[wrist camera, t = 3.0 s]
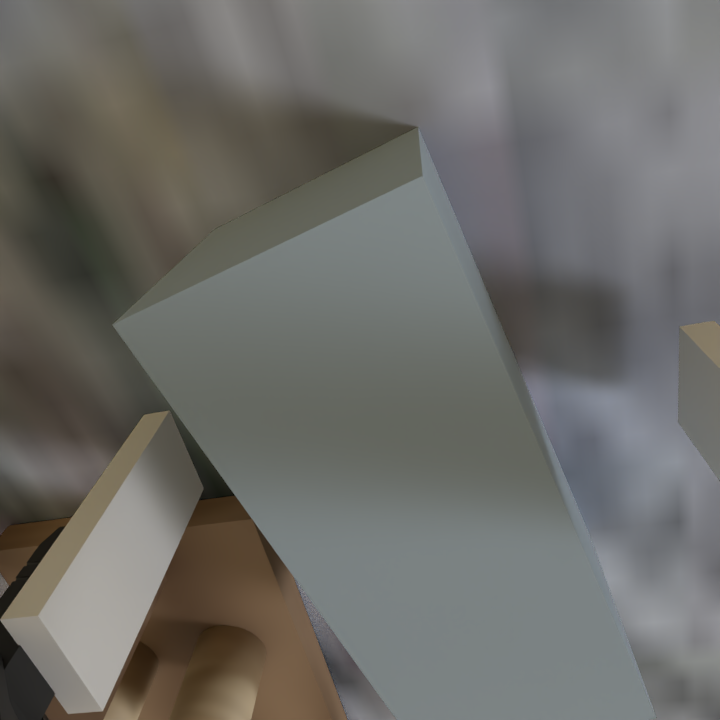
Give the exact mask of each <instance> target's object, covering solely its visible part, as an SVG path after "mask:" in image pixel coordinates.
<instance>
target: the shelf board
mask: <svg viewBox="0 0 720 720" xmlns="http://www.w3.org/2000/svg"><path fill="white" fill-rule="evenodd" d="M112 325H113V327H114V328H115V329H116V331H117V332H118V334H119V335H120V336H121V338H122V339H123V341H124V342H125V343H126V345H127V346H128V348H129V349H130V350H131V352H132V353H133V354H134V356H135V357H136V359H137V360H138V361H139V363H140V364H141V366H142V367H143V368H144V370H145V371H146V373H147V374H148V375H149V377H150V378H151V379H152V381H153V382H154V384H155V385H156V386H157V388H158V389H159V391H160V392H161V393H162V395H163V396H164V398H165V399H166V400H167V402H168V403H169V404H170V406H171V407H172V409H173V410H174V411H175V413H176V414H177V416H178V417H179V418H180V420H181V421H182V423H183V424H184V425H185V427H186V428H187V429H188V431H189V432H190V434H191V435H192V436H193V438H194V439H195V441H196V442H197V443H198V445H199V446H200V448H201V449H202V450H203V452H204V453H205V454H206V456H207V457H208V459H209V460H210V461H211V463H212V464H213V466H214V467H215V468H216V470H217V471H218V473H219V474H220V475H221V477H222V478H223V479H224V481H225V482H226V484H227V485H228V486H229V488H230V489H231V491H232V492H233V493H234V495H235V496H236V497H237V499H238V500H239V502H240V503H241V504H242V506H243V507H244V509H245V510H246V511H247V513H248V514H249V516H250V517H251V518H252V520H253V521H254V522H255V524H256V525H257V527H258V528H259V529H260V531H261V532H262V534H263V535H264V536H265V538H266V539H267V541H268V542H269V543H270V545H271V546H272V547H273V549H274V550H275V552H276V553H277V554H278V556H279V557H280V559H281V560H282V561H283V563H284V564H285V566H286V567H287V568H288V570H289V571H290V572H291V574H292V575H293V577H294V578H295V579H296V581H297V582H298V584H299V585H300V586H301V588H302V589H303V591H304V592H305V593H306V595H307V596H308V597H309V599H310V600H311V602H312V603H313V604H314V606H315V607H316V609H317V610H318V611H319V613H320V614H321V616H322V617H323V618H324V620H325V621H326V622H327V624H328V625H329V627H330V628H331V629H332V631H333V632H334V634H335V635H336V636H337V638H338V639H339V640H340V642H341V643H342V645H343V646H344V647H345V649H346V650H347V652H348V653H349V654H350V656H351V657H352V659H353V660H354V661H355V663H356V664H357V665H358V667H359V668H360V670H361V671H362V672H363V674H364V675H365V677H366V678H367V679H368V681H369V682H370V684H371V685H372V686H373V688H374V689H375V690H376V692H377V693H378V695H379V696H380V697H381V699H382V700H383V702H384V703H385V704H386V706H387V707H388V709H389V710H390V711H391V713H392V714H393V715H394V717H395V718H396V720H651V719H656V715H655V712H654V710H653V707H652V704H651V701H650V699H649V696H648V693H647V690H646V688H645V685H644V682H643V680H642V677H641V674H640V671H639V669H638V666H637V663H636V660H635V658H634V655H633V652H632V650H631V647H630V644H629V641H628V639H627V636H626V633H625V631H624V628H623V625H622V622H621V620H620V617H619V614H618V611H617V609H616V606H615V603H614V601H613V598H612V595H611V592H610V590H609V587H608V584H607V581H606V579H605V576H604V573H603V571H602V568H601V565H600V562H599V560H598V557H597V554H596V551H595V549H594V546H593V543H592V541H591V538H590V535H589V532H588V530H587V528H586V525H585V523H584V520H583V518H582V516H581V513H580V511H579V508H578V506H577V504H576V501H575V499H574V497H573V494H572V492H571V489H570V487H569V485H568V482H567V480H566V478H565V475H564V473H563V470H562V468H561V466H560V463H559V461H558V459H557V456H556V454H555V451H554V449H553V447H552V444H551V442H550V440H549V437H548V435H547V432H546V430H545V428H544V425H543V423H542V420H541V418H540V416H539V413H538V411H537V409H536V406H535V404H534V401H533V399H532V397H531V394H530V392H529V390H528V387H527V385H526V382H525V380H524V378H523V375H522V373H521V371H520V368H519V366H518V363H517V361H516V359H515V356H514V354H513V352H512V349H511V347H510V344H509V342H508V340H507V337H506V335H505V332H504V330H503V328H502V325H501V323H500V321H499V318H498V316H497V313H496V311H495V309H494V306H493V304H492V302H491V299H490V297H489V294H488V292H487V290H486V287H485V285H484V283H483V280H482V278H481V275H480V273H479V271H478V268H477V266H476V264H475V261H474V259H473V256H472V254H471V252H470V249H469V247H468V244H467V242H466V240H465V237H464V235H463V233H462V230H461V228H460V225H459V223H458V221H457V218H456V216H455V214H454V211H453V209H452V206H451V204H450V202H449V199H448V197H447V195H446V192H445V190H444V187H443V185H442V183H441V180H440V178H439V176H438V173H437V171H436V168H435V166H434V164H433V161H432V159H431V156H430V154H429V152H428V149H427V147H426V145H425V142H424V140H423V137H422V135H421V133H420V130H419V128H418V127H417V128H415V129H413V130H411V131H409V132H407V133H405V134H403V135H401V136H399V137H397V138H395V139H393V140H391V141H389V142H387V143H385V144H383V145H381V146H379V147H377V148H375V149H373V150H371V151H369V152H367V153H365V154H363V155H361V156H359V157H357V158H355V159H353V160H351V161H349V162H347V163H345V164H343V165H341V166H339V167H337V168H335V169H333V170H331V171H329V172H328V173H326V174H324V175H322V176H320V177H318V178H316V179H314V180H312V181H310V182H308V183H306V184H304V185H302V186H300V187H298V188H296V189H294V190H292V191H290V192H288V193H286V194H284V195H282V196H280V197H278V198H276V199H274V200H272V201H270V202H268V203H266V204H264V205H262V206H260V207H258V208H256V209H254V210H252V211H250V212H248V213H246V214H244V215H242V216H240V217H238V218H236V219H234V220H232V221H230V222H228V223H226V224H224V225H222V226H220V227H218V228H216V229H215V230H213V231H212V232H211V233H210V234H209V235H208V236H207V237H206V238H205V239H204V240H203V241H202V242H201V243H199V244H198V245H197V246H196V247H195V248H194V249H193V250H192V251H191V252H190V253H189V254H188V255H187V256H185V257H184V258H183V259H182V260H181V261H180V262H179V263H178V264H177V265H176V266H175V267H174V268H173V269H171V270H170V271H169V272H168V273H167V274H166V275H165V276H164V277H163V278H162V279H161V280H160V281H159V282H157V283H156V284H155V285H154V286H153V287H152V288H151V289H150V290H149V291H148V292H147V293H146V294H145V295H143V296H142V297H141V298H140V299H139V300H138V301H137V302H136V303H135V304H134V305H133V306H132V307H131V308H129V309H128V310H127V311H126V312H125V313H124V314H123V315H122V316H121V317H120V318H119V319H118V320H117V321H115V322H114V323H113V324H112Z"/></svg>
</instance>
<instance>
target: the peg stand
mask: <svg viewBox="0 0 720 720" xmlns="http://www.w3.org/2000/svg"><path fill="white" fill-rule="evenodd" d="M71 518H72V517H70V518H63V519H55V520H48V521H40V522H33V523H25V524H18V525H10V526H8V527H7V529H6V530H5V531H4V532H3V533H2V535H1V536H0V573H1V574H2V576H3V577H4V579H5V580H6V582H7V583H8V585H9V586H10V585H11V583H12V582H13V581H16V576H17V575H18V574H19V572H20V571H21V569H22V568H23V567H24V566H27V561H28V560H29V558H30V557H31V556H32V554H33V553H34V552H35V550H36V549H37V547H38V546H39V545H40V544H41V543H42V542H43V541H44V540H45V539H46V538H47V537H49V536H50V535H51V534H52V533H53V532H54V531H55V530H57V529H58V528H59V527H62V526H66V525H67V524H68V522H69V521H70V519H71ZM45 715H46V716H47V717H48V719H49V720H347V717H346V714H345V712H344V709H343V706H342V704H341V701H340V699H339V696H338V693H337V691H336V688H335V685H334V683H333V680H332V677H331V675H330V672H329V670H328V667H327V664H326V662H325V659H324V656H323V654H322V651H321V648H320V646H319V643H318V641H317V638H316V635H315V633H314V630H313V627H312V625H311V622H310V619H309V617H308V614H307V612H306V609H305V606H304V604H303V601H302V598H301V596H300V593H299V590H298V588H297V585H296V583H295V580H294V577H293V575H292V574H291V572H290V571H289V570H288V568H287V567H286V566H285V564H284V563H283V561H282V560H281V559H280V557H279V556H278V554H277V553H276V552H275V550H274V549H273V547H272V546H271V545H270V543H269V542H268V541H267V539H266V538H265V536H264V535H263V534H262V532H261V531H260V529H259V528H258V527H257V525H256V524H255V522H254V521H253V520H252V518H251V517H250V516H249V514H248V513H247V511H246V510H245V509H244V507H243V506H242V504H241V503H240V502H239V500H238V499H237V497H236V496H228V497H221V498H213V499H206V500H198V503H197V505H196V507H195V509H194V511H193V514H192V516H191V518H190V520H189V522H188V525H187V527H186V529H185V531H184V533H183V536H182V538H181V540H180V542H179V544H178V547H177V549H176V551H175V553H174V555H173V558H172V560H171V562H170V564H169V566H168V569H167V571H166V573H165V575H164V578H163V580H162V582H161V584H160V586H159V589H158V591H157V593H156V595H155V597H154V600H153V602H152V604H151V606H150V608H149V611H148V613H147V615H146V617H145V619H144V622H143V624H142V626H141V628H140V630H139V633H138V635H137V637H136V639H135V641H134V644H133V646H132V648H131V650H130V652H129V655H128V657H127V659H126V661H125V664H124V666H123V668H122V670H121V672H120V675H119V677H118V679H117V681H116V683H115V686H114V688H113V690H112V692H111V694H110V697H109V699H108V701H107V703H106V705H105V708H104V710H103V711H100V712H87V713H74V714H68V713H67V712H66V711H65V709H64V708H63V706H62V705H61V704H60V702H59V701H58V700H57V698H56V697H55V695H54V697H53V699H52V701H51V703H50V704H49V706H48V708H47V710H46V712H45Z"/></svg>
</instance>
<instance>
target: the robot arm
mask: <svg viewBox="0 0 720 720" xmlns="http://www.w3.org/2000/svg"><path fill="white" fill-rule="evenodd" d="M678 423H679V424H680V426H681V427H682V429H683V430H684V431H685V433H686V434H687V436H688V437H689V438H690V440H691V441H692V443H693V444H694V445H695V447H696V448H697V450H698V451H699V452H700V454H701V455H702V457H703V458H704V459H705V461H706V462H707V464H708V465H709V466H710V468H711V469H712V471H713V472H714V474H715V475H716V476H717V478H718V479H719V481H720V326H719V325H718V324H717V323H716V322H715V321H710V322H704V323H698V324H691V325H685V326H679V385H678ZM203 489H204V488H203V485H202V483H201V481H200V479H199V476H198V474H197V472H196V469H195V467H194V465H193V463H192V460H191V458H190V456H189V453H188V451H187V449H186V447H185V444H184V442H183V440H182V437H181V435H180V433H179V431H178V428H177V426H176V424H175V421H174V419H173V417H172V415H171V412H170V410H169V411H163V412H157V413H151V414H145V415H143V417H142V418H141V420H140V421H139V423H138V424H137V425H136V427H135V428H134V430H133V431H132V433H131V434H130V435H129V437H128V438H127V440H126V441H125V442H124V444H123V445H122V447H121V448H120V450H119V451H118V452H117V454H116V455H115V457H114V458H113V460H112V461H111V462H110V464H109V465H108V467H107V468H106V470H105V471H104V472H103V474H102V475H101V477H100V478H99V479H98V481H97V482H96V484H95V485H94V487H93V488H92V489H91V491H90V492H89V494H88V495H87V497H86V498H85V499H84V501H83V502H82V504H81V505H80V506H79V508H78V509H77V511H76V512H75V514H74V515H73V516H72V518H71V519H70V521H69V522H68V524H67V525H66V526H62V527H59V528H58V529H57V530H55V531H54V532H53V533H52V534H51V535H50V536H49V537H47V538H46V539H45V540H44V541H43V542H42V543H41V544H40V545H39V546H38V547H37V549H36V550H35V552H34V553H33V554H32V556H31V557H30V558H29V560H28V561H27V566H24V567H23V568H22V569H21V571H20V572H19V574H18V575H17V576H16V581H13V582H12V583H11V585H10V586H9V587H8V589H7V590H6V591H5V593H4V594H3V595H2V597H1V598H0V720H49V719H48V717H47V716H46V715H45V712H46V710H47V708H48V706H49V704H50V703H51V701H52V699H53V697H54V695H55V697H56V698H57V700H58V701H59V702H60V704H61V705H62V706H63V708H64V709H65V711H66V712H67V713H68V714H74V713H87V712H100V711H103V710H104V708H105V705H106V703H107V701H108V699H109V697H110V694H111V692H112V690H113V688H114V686H115V683H116V681H117V679H118V677H119V675H120V672H121V670H122V668H123V666H124V664H125V661H126V659H127V657H128V655H129V652H130V650H131V648H132V646H133V644H134V641H135V639H136V637H137V635H138V633H139V630H140V628H141V626H142V624H143V622H144V619H145V617H146V615H147V613H148V611H149V608H150V606H151V604H152V602H153V600H154V597H155V595H156V593H157V591H158V589H159V586H160V584H161V582H162V580H163V578H164V575H165V573H166V571H167V569H168V566H169V564H170V562H171V560H172V558H173V555H174V553H175V551H176V549H177V547H178V544H179V542H180V540H181V538H182V536H183V533H184V531H185V529H186V527H187V525H188V522H189V520H190V518H191V516H192V514H193V511H194V509H195V507H196V505H197V503H198V500H199V498H200V496H201V494H202V491H203Z"/></svg>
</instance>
